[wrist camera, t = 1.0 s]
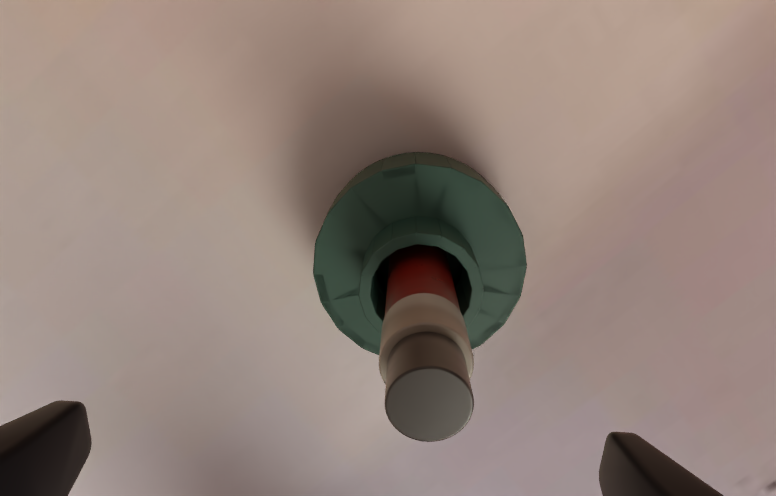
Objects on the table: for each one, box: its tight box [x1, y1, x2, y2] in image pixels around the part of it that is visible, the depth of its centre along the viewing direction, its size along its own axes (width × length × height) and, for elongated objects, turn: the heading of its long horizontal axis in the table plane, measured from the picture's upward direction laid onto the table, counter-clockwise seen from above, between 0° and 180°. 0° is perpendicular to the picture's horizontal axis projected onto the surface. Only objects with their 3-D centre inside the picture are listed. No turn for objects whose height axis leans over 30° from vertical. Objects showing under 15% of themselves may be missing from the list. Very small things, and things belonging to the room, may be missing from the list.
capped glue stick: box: [379, 244, 474, 442], centre depth 16 cm, size 2×2×11 cm
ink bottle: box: [313, 152, 527, 355], centre depth 19 cm, size 8×8×5 cm
